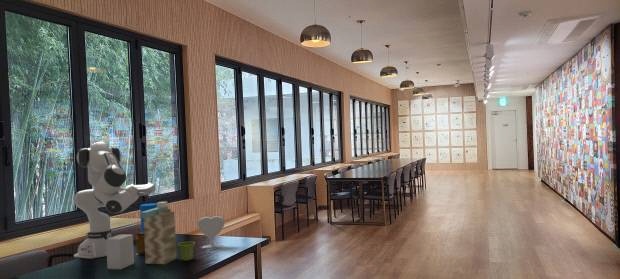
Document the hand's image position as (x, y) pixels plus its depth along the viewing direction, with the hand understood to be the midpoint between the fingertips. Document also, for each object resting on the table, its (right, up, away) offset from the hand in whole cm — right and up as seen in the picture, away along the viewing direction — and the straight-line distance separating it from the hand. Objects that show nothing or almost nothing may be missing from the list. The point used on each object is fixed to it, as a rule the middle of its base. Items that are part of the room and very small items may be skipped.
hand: (141, 184), depth 239 cm
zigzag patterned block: (+8, -42, +8) cm, 44 cm away
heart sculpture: (+29, -41, +37) cm, 63 cm away
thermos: (-14, -43, +54) cm, 71 cm away
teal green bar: (+6, -16, +4) cm, 18 cm away
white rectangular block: (-11, -43, +1) cm, 45 cm away
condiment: (-9, -43, +28) cm, 52 cm away
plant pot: (+21, -42, +9) cm, 48 cm away
